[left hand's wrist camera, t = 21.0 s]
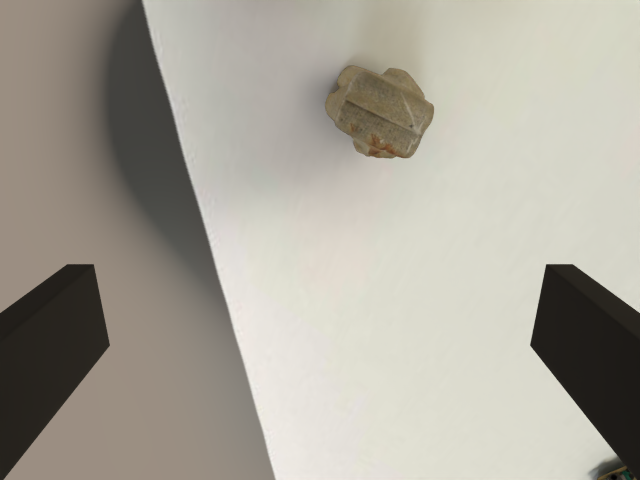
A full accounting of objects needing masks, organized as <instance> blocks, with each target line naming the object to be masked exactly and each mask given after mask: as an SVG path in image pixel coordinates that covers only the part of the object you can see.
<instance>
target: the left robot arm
mask: <svg viewBox="0 0 640 480" xmlns="http://www.w3.org/2000/svg"><path fill="white" fill-rule="evenodd" d="M109 346H110V344H109V339H108V334H107V329H106V324H105V319H104V314H103V309H102V304H101V299H100V294H99V289H98V284H97V279H96V273H95V269H94V265H93V264H67V265H66V266H64V267H63V268H62V269H60V270H59V271H58V272H56V273H55V274H53V275H52V276H51V277H49V278H48V279H47V280H45V281H44V282H43V283H41V284H40V285H38V286H37V287H36V288H34V289H33V290H31V291H30V292H29V293H27V294H26V295H25V296H23V297H22V298H20V299H19V300H18V301H16V302H15V303H14V304H12V305H11V306H9V307H8V308H7V309H5V310H4V311H3V312H1V313H0V480H4V478H5V477H6V476H7V474H8V473H9V472H10V471H11V469H12V468H13V467H14V466H15V464H16V463H17V462H18V461H19V459H20V458H21V457H22V456H23V454H24V453H25V452H26V451H27V449H28V448H29V447H30V445H31V444H32V443H33V442H34V440H35V439H36V438H37V437H38V435H39V434H40V433H41V432H42V430H43V429H44V428H45V427H46V425H47V424H48V423H49V421H50V420H51V419H52V418H53V416H54V415H55V414H56V413H57V411H58V410H59V409H60V408H61V406H62V405H63V404H64V403H65V401H66V400H67V399H68V397H69V396H70V395H71V394H72V393H73V391H74V390H75V389H76V387H77V386H78V385H79V384H80V382H81V381H82V380H83V379H84V377H85V376H86V375H87V374H88V372H89V371H90V370H91V368H92V367H93V366H94V365H95V363H96V362H97V361H98V360H99V358H100V357H101V356H102V355H103V353H104V352H105V351H106V350H107V348H108V347H109ZM530 346H531V347H532V348H533V350H534V351H535V352H536V353H537V355H538V356H539V357H540V358H541V360H542V361H543V362H544V364H545V365H546V366H547V367H548V369H549V370H550V371H551V372H552V374H553V375H554V376H555V377H556V379H557V380H558V381H559V382H560V384H561V385H562V386H563V387H564V389H565V390H566V391H567V393H568V394H569V395H570V396H571V398H572V399H573V400H574V401H575V403H576V404H577V405H578V406H579V408H580V409H581V410H582V411H583V413H584V414H585V415H586V416H587V418H588V419H589V420H590V422H591V423H592V424H593V425H594V427H595V428H596V429H597V430H598V432H599V433H600V434H601V435H602V437H603V438H604V439H605V440H606V442H607V443H608V444H609V445H610V447H611V448H612V449H613V451H614V452H615V453H616V454H617V456H618V457H619V458H620V459H621V461H622V462H623V463H624V464H625V466H626V467H627V468H628V469H629V471H630V472H631V473H632V474H633V476H634V477H635V478H636V480H640V313H639V312H637V311H636V310H635V309H633V308H632V307H631V306H629V305H628V304H626V303H625V302H624V301H622V300H621V299H620V298H618V297H617V296H615V295H614V294H613V293H611V292H610V291H609V290H607V289H606V288H604V287H603V286H602V285H600V284H599V283H598V282H596V281H595V280H593V279H592V278H591V277H589V276H588V275H587V274H585V273H584V272H582V271H581V270H580V269H578V268H577V267H576V266H574V265H573V264H546V268H545V273H544V278H543V284H542V289H541V294H540V299H539V304H538V309H537V314H536V319H535V324H534V329H533V334H532V339H531V344H530Z"/></svg>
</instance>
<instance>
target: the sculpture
mask: <svg viewBox="0 0 640 480" xmlns="http://www.w3.org/2000/svg"><path fill="white" fill-rule="evenodd" d="M337 84H338V86H339V89H338V90H337V91H336V92H334V93H330V94H329V96H328V98H327V100H326V103H325V108H326V112H327V114H328V115H329V116H330V117H331V118H332V119H333V120H334V121H335V125H336V126H337V127H338V128H339V129H340V130H342V131H343V132H345V133H346V134H348V135H350V136H351V137H352V138H353V142H354V146H355V149H356V151H357V152H359V153H362V154H364V155H366V156H373V157H376V158H394V157H396V156H397V157H401V158H410V157H411V156H412V155H413V154H414V153H415V151H416V149H417V147H418V145H419V143H420V140H421V138H422V136H423V134H424V132H425V130H426V129H427V128H428V126H429V125H430V123H431V121H432V119H433V114H434V107H433V104H431V103H429V102H428V101H426V100H425V99H424V94H423V92H422V91H421V89H420V88H419V86H418V85H417V84H416V82H415V81H414V80H413V78H412V77H411V76H410V75H409V74H408V73H407V72H405V71H403V70H400V69H394V68H389V69H388V70H387V71H386V72H385V73H384V74H383V75H379V74H376V73H373V72H371V71H368V70H366V69H363V68H360V67H356V66H348V67H347V68H345V69H344V70H343V72H342V73H341V74H340V76H339V77H338V81H337Z"/></svg>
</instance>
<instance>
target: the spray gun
mask: <svg viewBox="0 0 640 480" xmlns="http://www.w3.org/2000/svg"><path fill="white" fill-rule="evenodd" d="M627 469H628V468H627V467H626V466H624V467H622V468H619V469H617V470H615V471H612V472H610V473H608V474H605V475H603V476H601V477H599V478H598V479H597V480H604V479H606V478H608V479H609V480H636V478H635V477H634V476H633V474H632V473H631V472H627V471H625V470H627ZM620 472H622V475H621V474H620Z"/></svg>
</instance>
